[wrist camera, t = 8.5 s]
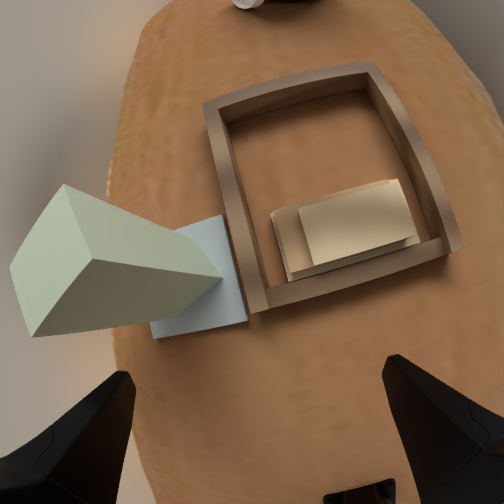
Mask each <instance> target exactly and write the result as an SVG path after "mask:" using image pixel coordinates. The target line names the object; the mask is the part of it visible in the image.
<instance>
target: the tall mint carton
mask: <svg viewBox="0 0 504 504" xmlns="http://www.w3.org/2000/svg"><path fill="white" fill-rule="evenodd" d="M10 271H11V275H12V279H13V283H14V287H15V290H16V294H17V297H18V301H19V304H20V307H21V310H22V313H23V316H24V319H25V322H26V325H27V327H28V330H29V333H30V336H31V337H32V338H33V337H43V336H52V335H61V334H69V333H77V332H85V331H92V330H100V329H107V328H114V327H120V326H127V325H133V324H140V323H146V322H152V321H157V320H163V319H169V318H174V317H176V316H177V315H178V314H180V313H181V312H182V311H183V310H185V309H186V308H187V307H188V306H189V305H191V304H192V303H193V302H194V301H196V300H197V299H198V298H199V297H200V296H202V295H203V294H204V293H205V292H207V291H208V290H209V289H210V288H212V287H213V286H214V285H215V284H216V283H218V282H219V281H220V280H221V279H223V277H222V275H221V274H220V273H219V271H218V270H217V269H216V267H215V266H214V264H213V263H212V262H211V260H210V259H209V258H208V256H207V255H206V253H205V252H204V251H203V249H202V248H201V246H200V245H199V244H198V242H197V241H195V240H193V239H190V238H188V237H186V236H183V235H181V234H179V233H176V232H174V231H172V230H169V229H167V228H164V227H162V226H160V225H157V224H155V223H153V222H150V221H148V220H146V219H143V218H141V217H139V216H136V215H134V214H132V213H129V212H127V211H125V210H122V209H120V208H118V207H115V206H113V205H111V204H108V203H106V202H104V201H101V200H99V199H97V198H95V197H92V196H90V195H87V194H85V193H83V192H81V191H79V190H76V189H74V188H72V187H69V186H67V185H65V184H63V185H62V187H61V188H60V189H59V191H58V192H57V193H56V194H55V196H54V197H53V199H52V200H51V201H50V203H49V204H48V206H47V207H46V208H45V210H44V211H43V213H42V214H41V216H40V217H39V219H38V220H37V222H36V223H35V225H34V226H33V228H32V229H31V231H30V232H29V234H28V236H27V237H26V239H25V241H24V242H23V244H22V246H21V248H20V249H19V251H18V253H17V254H16V256H15V258H14V260H13V262H12V263H11V266H10Z"/></svg>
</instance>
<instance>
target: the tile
mask: <svg viewBox="0 0 504 504" xmlns="http://www.w3.org/2000/svg"><path fill="white" fill-rule="evenodd" d="M174 232H176V233H179V234H181V235H183V236H186V237H188V238H190V239H193V240H195V241H197V242H198V244H199V245H200V246H201V248H202V249H203V251H204V252H205V253H206V255H207V256H208V258H209V259H210V260H211V262H212V263H213V264H214V266H215V267H216V269H217V270H218V271H219V273H220V274H221V275H222V277H223V279H221V280H220V281H219V282H218V283H216V284H215V285H214V286H213V287H212V288H210V289H209V290H208V291H207V292H205V293H204V294H203V295H202V296H200V297H199V298H198V299H197V300H196V301H194V302H193V303H192V304H191V305H189V306H188V307H187V308H186V309H185V310H183V311H182V312H181V313H180V314H178V315H177V316H176V317H174V318H169V319H163V320H157V321H152V322H150V326H151V331H152V335H153V339H156V338H162V337H168V336H174V335H179V334H185V333H190V332H196V331H201V330H206V329H211V328H216V327H220V326H225V325H230V324H234V323H239V322H243V321H248V320H249V317H248V313H247V309H246V305H245V301H244V297H243V293H242V289H241V285H240V280H239V276H238V272H237V268H236V264H235V260H234V256H233V251H232V247H231V243H230V239H229V235H228V230H227V226H226V222H225V217H224V216H223V215H222V214H221V215H218V216H215V217H212V218H209V219H206V220H203V221H200V222H197V223H194V224H191V225H188V226H185V227H182V228H179V229H176V230H174Z"/></svg>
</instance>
